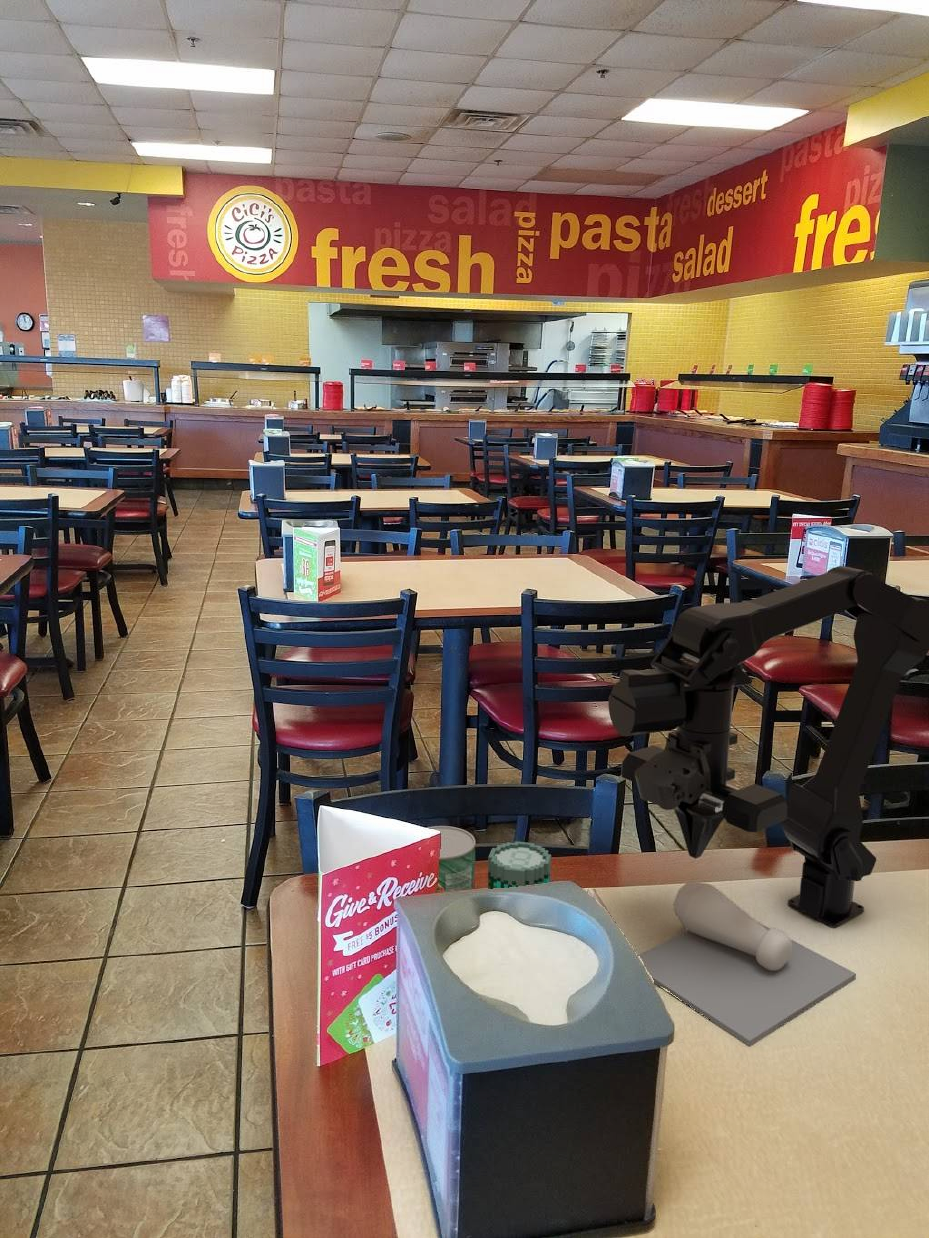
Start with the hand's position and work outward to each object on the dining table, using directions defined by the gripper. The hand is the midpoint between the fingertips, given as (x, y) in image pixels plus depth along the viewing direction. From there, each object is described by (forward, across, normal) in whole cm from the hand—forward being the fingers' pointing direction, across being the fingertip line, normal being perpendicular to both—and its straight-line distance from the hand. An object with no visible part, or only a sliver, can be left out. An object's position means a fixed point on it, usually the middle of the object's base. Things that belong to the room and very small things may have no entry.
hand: (695, 856), depth 102 cm
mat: (+10, +8, -1) cm, 13 cm away
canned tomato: (+10, -18, -22) cm, 30 cm away
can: (+10, -4, -22) cm, 25 cm away
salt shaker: (+6, -2, +1) cm, 7 cm away
